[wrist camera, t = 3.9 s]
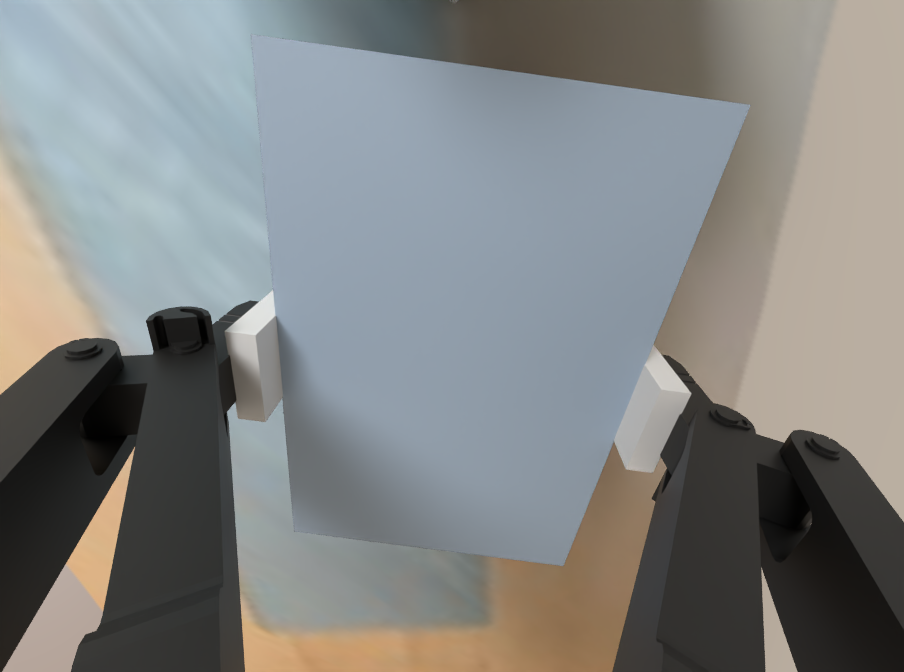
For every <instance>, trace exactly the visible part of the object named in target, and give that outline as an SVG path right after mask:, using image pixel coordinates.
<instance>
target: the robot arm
mask: <svg viewBox="0 0 904 672" xmlns="http://www.w3.org/2000/svg"><path fill="white" fill-rule="evenodd" d="M146 323H147V327H148V330H149V334H150V338H151V342H152V346H153V350H154V352H153V355H135V356H121V353H120V349H119V346H118V345H117V343H116V342H115V341H112V340H110V339H102V338H92V339H89V338H84V339H79V340H74V341H71V342H69V343H67V344H64V345H61V346H59V347H57V348H55V349H54V350H52V351H50V352H49V353H48V354H47V355H46V356H44V357H43V358H42V359H41V360H40V361H39V362H38V363H36V364H35V365H34V366H33V367H32V368H31V369H30V370H28V371H27V372H26V373H25V374H24V375H23V376H22V377H20V378H19V379H18V380H17V381H16V382H15V383H14V384H12V385H11V386H10V387H9V388H8V389H7V390H5V391H4V392H3V393H2V394H1V395H0V672H2V671H3V668H4V667H5V666H6V664H7V662H8V660H9V659H10V657H11V656H12V654H13V652H14V650H15V649H16V647H17V645H18V643H19V642H20V640H21V639H22V637H23V635H24V633H25V632H26V630H27V628H28V627H29V625H30V623H31V622H32V620H33V618H34V616H35V615H36V613H37V611H38V610H39V608H40V606H41V605H42V603H43V601H44V600H45V598H46V596H47V594H48V593H49V591H50V589H51V588H52V586H53V584H54V583H55V581H56V579H57V578H58V576H59V574H60V572H61V571H62V569H63V567H64V566H65V564H66V562H67V561H68V559H69V557H70V556H71V554H72V552H73V550H74V549H75V547H76V545H77V544H78V542H79V540H80V539H81V537H82V535H83V533H84V532H85V530H86V528H87V527H88V525H89V523H90V522H91V520H92V518H93V517H94V515H95V513H96V511H97V510H98V508H99V506H100V505H101V503H102V501H103V500H104V498H105V496H106V494H107V493H108V491H109V489H110V488H111V486H112V484H113V483H114V481H115V479H116V478H117V476H118V474H119V472H120V471H121V469H122V467H123V466H124V464H125V462H126V461H127V459H128V457H129V455H130V454H131V452H132V450H133V449H134V447H135V450H134V455H133V460H132V466H131V471H130V476H129V481H128V486H127V492H126V497H125V502H124V507H123V512H122V517H121V523H120V528H119V533H118V538H117V543H116V549H115V554H114V559H113V564H112V569H111V574H110V580H109V585H108V590H107V595H106V600H105V605H104V611H103V616H102V619H101V623H100V625H99V627H98V629H97V631H95V632H92V633H89V634H86V635H85V636H84V638H83V639H82V641H81V643H80V644H79V646H78V649H77V652H76V656H75V659H74V662H73V665H72V670H71V672H245V665H244V649H243V634H242V619H241V604H240V588H239V573H238V558H237V543H236V527H235V512H234V497H233V482H232V466H231V451H230V436H229V422H228V416H227V411H228V410H229V409H230V407H231V406H232V405H233V404H234V403H235V402H236V409H237V415H238V418H239V419H246V420H254V421H261V422H266V420H267V419H268V418H269V416H270V415H271V413H272V412H273V410H274V409H275V408H276V406H277V405H278V403H279V402H280V400H281V399H282V397H283V390H282V379H281V367H280V356H279V344H278V332H277V321H276V315H275V306H274V295H273V291H271V292H270V293H269V294H268V295H267V296H265V297H264V298H263V299H262V300H261V301H260V302H257V301H248V302H246V303H243V304H240V305H238V306H236V307H234V308H233V309H232V310H231V311H229V312H228V313H227V315H224V316H223V317H222V318H220V319H219V321H216V322H215V323H214V324H213V325H212V321H211V315H210V314H209V312H208V311H206V310H204V309H202V308H197V307H175V308H168V309H165V310H161V311H158V312H156V313H154V314H152V315H151V316H149V318H148V319H147V320H146ZM695 383H696V382H695V381H694V379H693V378H692V377H691V376H689V373H688V372H687V371H686V370H685V369H684V367H683V366H682V365H681V364H680V363H678V362H677V361H675V360H674V359H672V358H671V357H670V356H666V355H661V354H660V352H659V351H658V350H657V348H656V347H655V346H654V345H653V347H652V349H651V352H650V354H649V356H648V359H647V361H646V364H645V365H644V367H643V369H642V372H641V374H640V377H639V379H638V382H637V384H636V386H635V389H634V391H633V394H632V396H631V399H630V401H629V404H628V406H627V409H626V411H625V414H624V416H623V419H622V421H621V423H620V426H619V428H618V431H617V433H616V436H615V438H614V442H615V445H616V447H617V449H618V452H619V454H620V457H621V459H622V461H623V464H624V466H625V468H626V470H634V471H641V472H649V473H653V472H654V470H655V468H656V466H657V463H658V461H659V459H660V457H661V458H662V459H663V461H664V463H665V465H666V467H667V469H666V471H665V473H664V475H663V477H662V479H661V481H660V483H659V485H658V487H657V489H656V491H655V493H654V495H653V497H652V500H654V501H656V503H655V506H654V510H653V514H652V518H651V522H650V526H649V530H648V534H647V538H646V542H645V546H644V550H643V554H642V558H641V561H640V565H639V569H638V573H637V577H636V581H635V585H634V589H633V593H632V597H631V601H630V605H629V609H628V613H627V616H626V620H625V624H624V628H623V632H622V636H621V640H620V644H619V648H618V652H617V656H616V660H615V664H614V668H613V671H612V672H765V651H764V626H763V603H762V580H761V579H762V578H761V567H762V570H763V573H764V576H765V579H766V581H767V584H768V587H769V590H770V593H771V596H772V599H773V602H774V605H775V607H776V610H777V613H778V616H779V619H780V622H781V625H782V628H783V631H784V634H785V636H786V639H787V642H788V645H789V648H790V651H791V654H792V657H793V660H794V663H795V665H796V668H797V671H798V672H904V522H903V521H902V519H901V518H900V517H899V515H898V514H897V513H896V511H895V510H894V509H893V508H892V506H891V505H890V504H889V502H888V501H887V499H886V498H885V497H884V495H883V494H882V493H881V492H880V490H879V489H878V488H877V486H876V485H875V484H874V482H873V481H872V480H871V478H870V477H869V476H868V474H867V473H866V472H865V470H864V469H863V468H862V466H861V465H860V464H859V463H858V461H857V460H856V458H855V457H854V456H853V455H852V454H851V453H850V452H849V451H848V450H847V449H845V448H844V447H842V446H841V445H839V444H838V443H837V442H836V441H834V440H832V439H829V438H828V437H826V436H824V435H821V434H820V435H819V434H816V433H814V432H810V431H804V430H795V431H793V432H792V433H791V434H790V435H789V437H788V438H787V440H786V441H785V443H783V442H780V441H777V440H773V439H770V438H767V437H764V436H760V435H757V434H756V432H755V429H754V426H753V424H752V423H751V422H750V421H749V420H748V419H747V418H746V417H744V416H743V415H741V414H740V413H738V412H737V411H734V410H732V409H730V408H728V407H725V406H722V405H719V404H713V402H712V401H711V400H710V399H709V398H708V396H707V395H706V394H705V393H704V392H703V390H702V389H701V388H700V387H699V386H698V384H695ZM810 524H811V525H810Z"/></svg>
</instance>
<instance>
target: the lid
mask: <svg viewBox="0 0 904 672" xmlns="http://www.w3.org/2000/svg"><path fill="white" fill-rule="evenodd" d="M251 43H252V54H253V65H254V77H255V88H256V100H257V111H258V123H259V134H260V146H261V157H262V169H263V180H264V192H265V203H266V215H267V226H268V238H269V249H270V261H271V272H272V284H273V295H274V306H275V315H276V321H277V332H278V344H279V356H280V367H281V379H282V390H283V397H282V398H283V410H284V421H285V433H286V444H287V456H288V467H289V479H290V490H291V502H292V513H293V525H294V532H302V533H310V534H318V535H326V536H333V537H341V538H349V539H357V540H364V541H372V542H380V543H388V544H395V545H403V546H411V547H419V548H426V549H434V550H442V551H450V552H457V553H465V554H473V555H481V556H489V557H496V558H504V559H512V560H520V561H527V562H535V563H543V564H551V565H558V566H564V563H565V561H566V558H567V556H568V553H569V551H570V548H571V546H572V544H573V541H574V539H575V536H576V534H577V531H578V529H579V526H580V524H581V521H582V519H583V516H584V514H585V512H586V509H587V507H588V504H589V502H590V499H591V497H592V494H593V492H594V489H595V487H596V484H597V482H598V480H599V477H600V475H601V472H602V470H603V467H604V465H605V462H606V460H607V457H608V455H609V452H610V450H611V448H612V445H613V443H614V438H615V436H616V433H617V431H618V428H619V426H620V423H621V421H622V419H623V416H624V414H625V411H626V409H627V406H628V404H629V401H630V399H631V396H632V394H633V391H634V389H635V386H636V384H637V382H638V379H639V377H640V374H641V372H642V369H643V367H644V365H645V364H646V361H647V359H648V356H649V354H650V352H651V349H652V347H653V344H654V342H655V339H656V337H657V334H658V332H659V329H660V327H661V325H662V322H663V320H664V317H665V315H666V312H667V310H668V307H669V305H670V302H671V300H672V297H673V295H674V293H675V290H676V288H677V285H678V283H679V280H680V278H681V275H682V273H683V270H684V268H685V265H686V263H687V261H688V258H689V256H690V253H691V251H692V248H693V246H694V243H695V241H696V238H697V236H698V233H699V231H700V229H701V226H702V224H703V221H704V219H705V216H706V214H707V211H708V209H709V206H710V204H711V201H712V199H713V197H714V194H715V192H716V189H717V187H718V184H719V182H720V179H721V177H722V174H723V172H724V169H725V167H726V165H727V162H728V160H729V157H730V155H731V152H732V150H733V147H734V145H735V142H736V140H737V137H738V135H739V133H740V130H741V128H742V125H743V123H744V120H745V118H746V115H747V113H748V110H749V108H750V106H751V105H748V104H741V103H734V102H726V101H719V100H712V99H705V98H698V97H691V96H684V95H677V94H670V93H663V92H656V91H649V90H642V89H635V88H628V87H620V86H613V85H606V84H599V83H592V82H585V81H578V80H571V79H564V78H557V77H550V76H543V75H536V74H529V73H522V72H514V71H507V70H500V69H493V68H486V67H479V66H472V65H465V64H458V63H451V62H444V61H437V60H430V59H423V58H416V57H408V56H401V55H394V54H387V53H380V52H373V51H366V50H359V49H352V48H345V47H338V46H331V45H324V44H317V43H310V42H302V41H295V40H288V39H281V38H274V37H267V36H260V35H253V34H251Z"/></svg>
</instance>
